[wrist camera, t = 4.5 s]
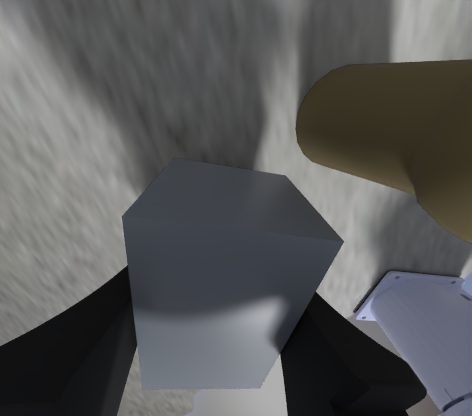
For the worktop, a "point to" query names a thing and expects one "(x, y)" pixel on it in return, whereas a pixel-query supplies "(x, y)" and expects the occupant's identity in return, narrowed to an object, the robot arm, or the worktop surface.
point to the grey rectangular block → (220, 273)
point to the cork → (398, 132)
